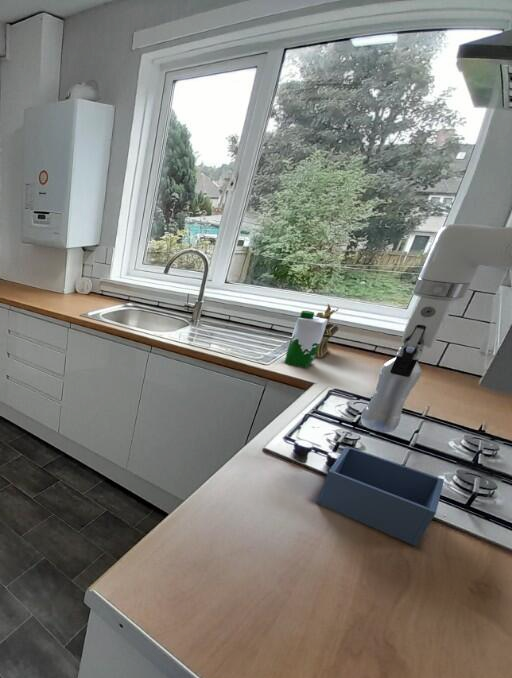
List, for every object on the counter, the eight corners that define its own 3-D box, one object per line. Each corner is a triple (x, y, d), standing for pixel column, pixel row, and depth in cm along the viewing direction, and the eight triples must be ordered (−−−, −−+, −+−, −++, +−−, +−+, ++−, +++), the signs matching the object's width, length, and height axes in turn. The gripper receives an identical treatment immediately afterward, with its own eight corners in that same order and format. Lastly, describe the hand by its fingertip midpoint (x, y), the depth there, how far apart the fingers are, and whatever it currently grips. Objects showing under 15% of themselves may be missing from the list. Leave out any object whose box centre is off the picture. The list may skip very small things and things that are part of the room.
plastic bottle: (397, 439, 92) (437, 356, 84) (359, 430, 95) (394, 350, 87) (390, 426, 97) (428, 347, 89) (355, 419, 100) (388, 342, 92)
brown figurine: (322, 359, 163) (340, 311, 155) (294, 353, 170) (310, 307, 161) (333, 349, 176) (350, 303, 168) (306, 343, 182) (321, 299, 174)
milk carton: (288, 357, 165) (304, 309, 157) (314, 363, 159) (332, 313, 151) (281, 362, 160) (297, 312, 152) (308, 369, 154) (326, 317, 145)
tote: (426, 511, 84) (444, 479, 80) (416, 546, 75) (435, 512, 71) (333, 474, 94) (346, 445, 91) (315, 502, 85) (328, 471, 82)
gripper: (462, 298, 75) (419, 386, 82) (468, 287, 85) (430, 366, 93) (408, 291, 80) (372, 375, 87) (420, 281, 90) (387, 357, 98)
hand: (402, 370), depth 90 cm, fingers closed on plastic bottle, 6 cm apart
